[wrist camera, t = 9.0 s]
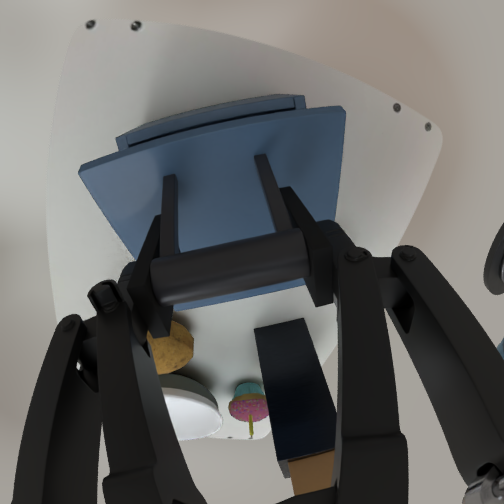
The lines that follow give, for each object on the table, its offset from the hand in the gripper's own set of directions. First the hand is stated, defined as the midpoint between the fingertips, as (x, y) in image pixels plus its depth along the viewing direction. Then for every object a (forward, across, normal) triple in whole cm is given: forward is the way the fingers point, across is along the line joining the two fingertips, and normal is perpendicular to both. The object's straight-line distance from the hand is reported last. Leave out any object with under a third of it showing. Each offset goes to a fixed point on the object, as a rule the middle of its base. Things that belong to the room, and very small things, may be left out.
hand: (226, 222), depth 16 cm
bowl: (+18, -19, -39) cm, 47 cm away
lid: (+4, 0, -3) cm, 5 cm away
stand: (+17, +3, -32) cm, 36 cm away
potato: (+18, -16, -22) cm, 32 cm away
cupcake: (+18, -5, -44) cm, 47 cm away
